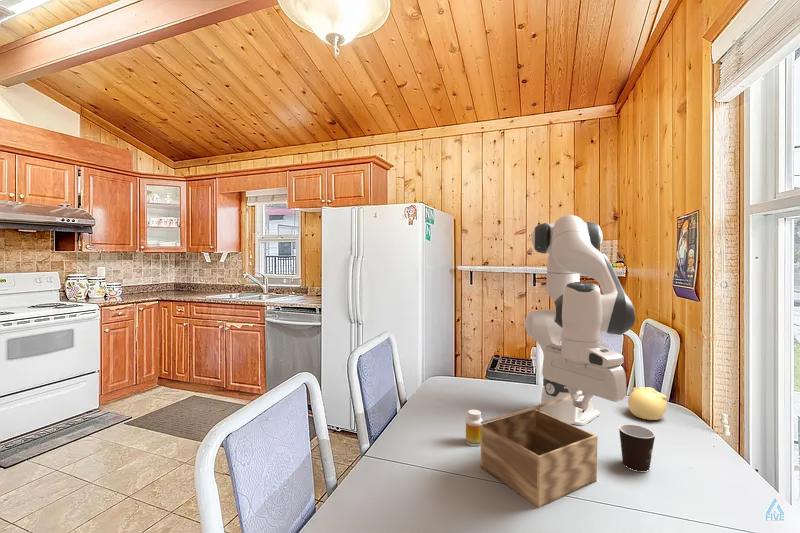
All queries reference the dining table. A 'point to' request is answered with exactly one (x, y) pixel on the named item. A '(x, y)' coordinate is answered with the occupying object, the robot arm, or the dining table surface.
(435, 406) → the dining table surface
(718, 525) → the dining table surface
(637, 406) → the sculpture
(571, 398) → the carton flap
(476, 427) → the supplement bottle
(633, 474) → the dining table surface
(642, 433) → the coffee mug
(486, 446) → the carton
